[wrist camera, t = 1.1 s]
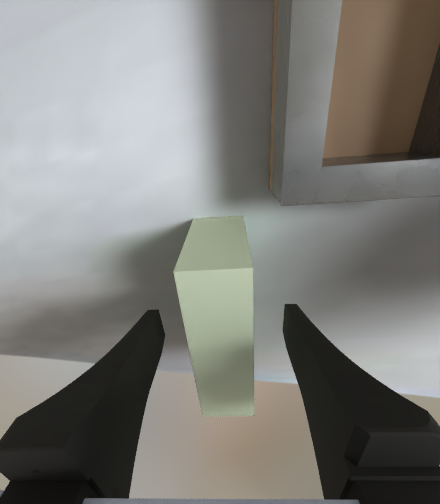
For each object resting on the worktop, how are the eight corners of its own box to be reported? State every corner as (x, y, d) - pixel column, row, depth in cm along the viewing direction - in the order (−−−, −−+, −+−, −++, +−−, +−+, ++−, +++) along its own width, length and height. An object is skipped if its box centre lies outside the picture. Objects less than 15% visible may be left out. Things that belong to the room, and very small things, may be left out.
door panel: (242, 215, 14) (252, 268, 9) (246, 333, 18) (254, 415, 13) (193, 218, 14) (173, 271, 9) (209, 335, 19) (202, 416, 13)
